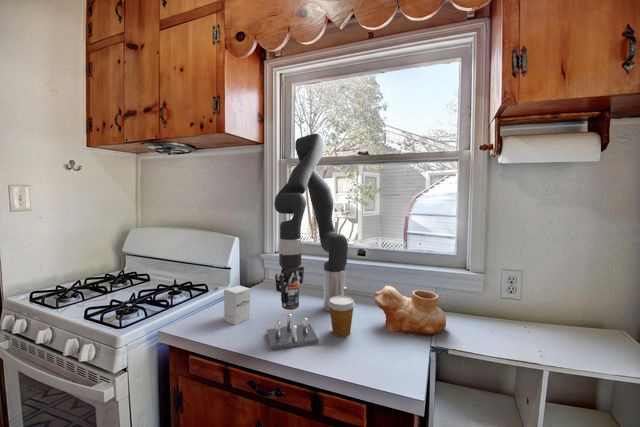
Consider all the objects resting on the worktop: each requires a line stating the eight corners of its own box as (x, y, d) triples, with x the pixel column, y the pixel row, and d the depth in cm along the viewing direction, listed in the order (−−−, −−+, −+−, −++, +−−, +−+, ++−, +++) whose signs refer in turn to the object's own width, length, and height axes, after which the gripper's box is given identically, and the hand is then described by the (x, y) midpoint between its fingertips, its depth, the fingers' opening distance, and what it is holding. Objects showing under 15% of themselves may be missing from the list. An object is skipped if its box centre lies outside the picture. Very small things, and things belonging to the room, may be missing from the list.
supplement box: (235, 325, 109) (234, 293, 108) (223, 320, 114) (223, 289, 113) (250, 319, 115) (250, 288, 114) (239, 314, 119) (238, 284, 119)
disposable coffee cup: (340, 324, 110) (340, 293, 109) (360, 332, 103) (360, 300, 102) (322, 332, 103) (322, 300, 103) (342, 342, 96) (342, 307, 96)
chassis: (309, 327, 107) (309, 310, 107) (318, 343, 96) (318, 324, 95) (266, 333, 103) (266, 315, 102) (270, 350, 91) (270, 331, 91)
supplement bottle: (284, 303, 102) (284, 272, 101) (300, 304, 101) (300, 273, 100) (279, 309, 96) (279, 276, 96) (296, 311, 95) (296, 277, 95)
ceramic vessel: (373, 316, 117) (373, 280, 116) (441, 321, 112) (442, 284, 111) (373, 332, 103) (373, 291, 102) (450, 339, 98) (451, 296, 97)
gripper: (293, 247, 106) (293, 292, 107) (268, 254, 93) (268, 304, 94) (310, 249, 102) (310, 295, 103) (286, 256, 89) (286, 309, 90)
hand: (290, 299), depth 99 cm, fingers closed on supplement bottle, 6 cm apart
